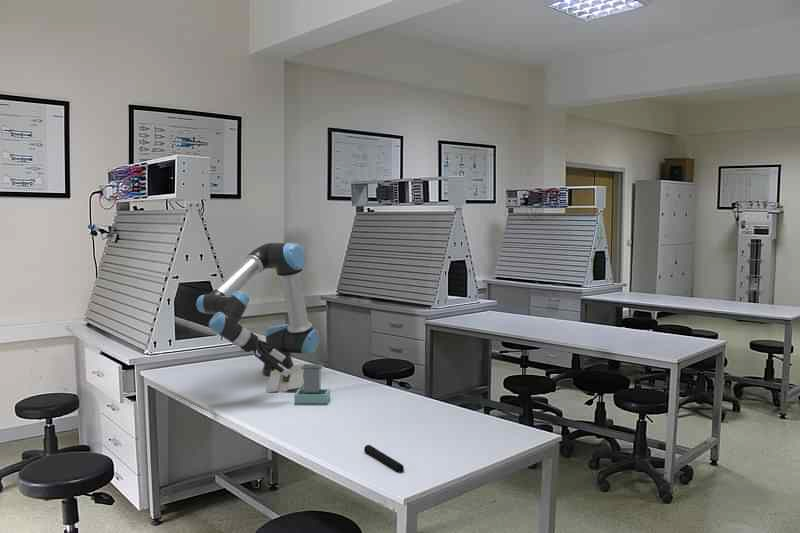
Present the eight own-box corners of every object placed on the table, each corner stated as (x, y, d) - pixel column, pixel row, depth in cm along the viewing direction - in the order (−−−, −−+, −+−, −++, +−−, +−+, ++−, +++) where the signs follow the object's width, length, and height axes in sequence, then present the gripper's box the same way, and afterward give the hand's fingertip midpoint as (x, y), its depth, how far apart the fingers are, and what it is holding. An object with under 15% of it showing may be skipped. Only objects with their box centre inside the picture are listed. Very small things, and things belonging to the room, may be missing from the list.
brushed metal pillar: (303, 398, 249) (303, 364, 248) (323, 398, 249) (322, 364, 248) (301, 401, 245) (301, 366, 244) (321, 401, 244) (321, 366, 244)
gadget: (405, 464, 177) (370, 443, 194) (398, 466, 175) (363, 445, 192) (405, 472, 177) (370, 451, 194) (398, 474, 176) (363, 452, 192)
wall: (307, 398, 265) (309, 370, 276) (302, 387, 259) (304, 358, 270) (271, 403, 266) (274, 375, 277) (264, 392, 260) (268, 364, 271)
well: (298, 398, 251) (298, 388, 251) (330, 398, 251) (330, 388, 251) (294, 404, 242) (294, 394, 242) (327, 404, 242) (327, 395, 242)
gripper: (236, 333, 254) (275, 359, 264) (241, 360, 232) (284, 388, 242) (248, 320, 254) (287, 346, 264) (254, 346, 232) (297, 373, 241)
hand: (286, 366), depth 253 cm, fingers open, 13 cm apart
